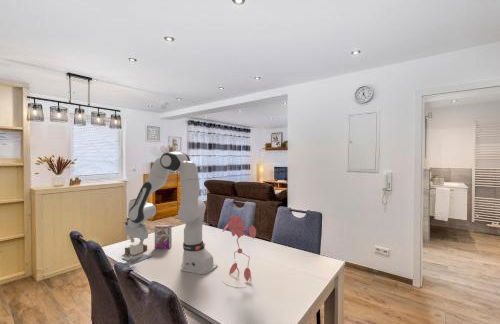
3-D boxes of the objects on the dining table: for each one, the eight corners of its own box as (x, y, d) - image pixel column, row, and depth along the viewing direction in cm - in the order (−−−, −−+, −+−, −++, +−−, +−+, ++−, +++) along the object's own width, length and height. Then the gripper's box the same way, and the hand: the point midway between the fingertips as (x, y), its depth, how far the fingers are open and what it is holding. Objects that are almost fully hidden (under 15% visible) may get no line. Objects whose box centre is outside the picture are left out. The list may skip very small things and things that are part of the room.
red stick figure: (229, 267, 142) (228, 209, 140) (263, 281, 124) (262, 216, 123) (209, 277, 130) (208, 214, 129) (244, 295, 113) (242, 222, 112)
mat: (151, 256, 158) (151, 256, 158) (134, 263, 147) (134, 263, 147) (138, 252, 165) (138, 252, 165) (121, 258, 155) (121, 258, 155)
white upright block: (143, 255, 158) (143, 242, 158) (133, 259, 152) (133, 245, 152) (140, 254, 160) (139, 241, 160) (130, 258, 154) (130, 244, 154)
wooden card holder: (147, 250, 169) (147, 244, 169) (131, 255, 159) (131, 250, 159) (140, 247, 174) (140, 242, 174) (124, 253, 164) (124, 247, 164)
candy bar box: (154, 248, 172) (154, 226, 172) (157, 246, 177) (157, 224, 177) (169, 249, 171) (168, 226, 171) (172, 246, 176) (171, 224, 176)
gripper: (150, 223, 153) (150, 244, 153) (131, 219, 164) (132, 239, 164) (141, 226, 148) (141, 248, 148) (123, 222, 159) (123, 242, 159)
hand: (136, 243), depth 156 cm, fingers open, 8 cm apart
